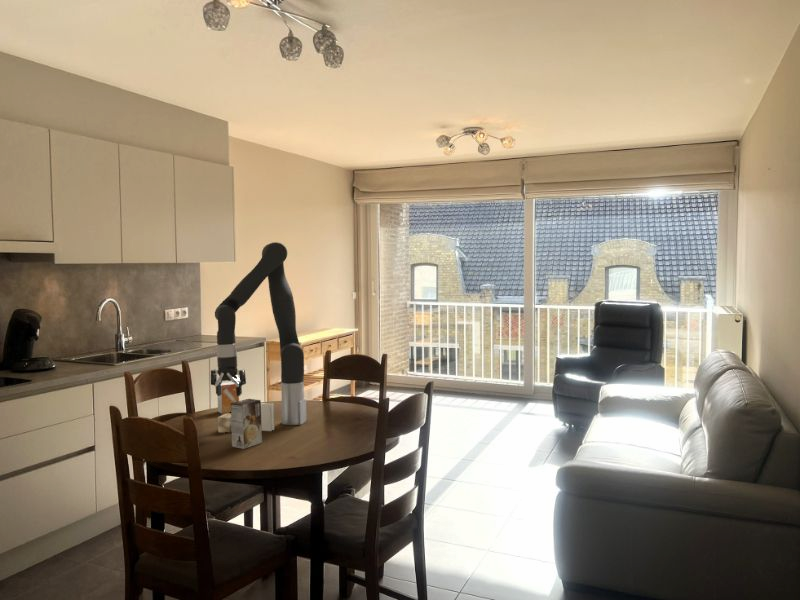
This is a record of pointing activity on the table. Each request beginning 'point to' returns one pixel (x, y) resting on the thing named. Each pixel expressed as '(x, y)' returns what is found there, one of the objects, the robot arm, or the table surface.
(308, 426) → the table surface
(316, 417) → the table surface
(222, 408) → the small box
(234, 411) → the coffee box
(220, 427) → the block
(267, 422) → the wall with pocket
